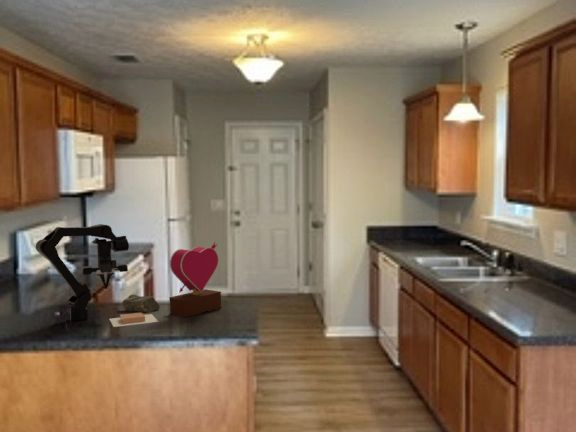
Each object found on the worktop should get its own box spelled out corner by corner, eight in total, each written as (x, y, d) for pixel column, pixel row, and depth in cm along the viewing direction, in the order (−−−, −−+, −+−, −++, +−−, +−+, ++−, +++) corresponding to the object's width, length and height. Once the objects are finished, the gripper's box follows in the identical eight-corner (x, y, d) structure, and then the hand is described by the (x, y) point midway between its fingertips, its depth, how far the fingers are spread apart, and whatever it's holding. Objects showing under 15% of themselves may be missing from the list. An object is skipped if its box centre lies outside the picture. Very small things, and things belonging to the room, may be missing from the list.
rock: (117, 303, 268) (125, 293, 277) (119, 317, 270) (128, 306, 279) (153, 303, 265) (161, 292, 274) (156, 316, 267) (163, 306, 276)
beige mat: (113, 328, 243) (113, 326, 243) (109, 319, 257) (109, 318, 257) (158, 322, 251) (158, 321, 250) (151, 315, 264) (151, 314, 264)
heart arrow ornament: (210, 304, 284) (208, 240, 282) (226, 306, 278) (224, 242, 275) (169, 314, 265) (167, 246, 263) (185, 317, 259) (182, 248, 256)
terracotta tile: (122, 318, 248) (144, 316, 252) (120, 314, 255) (141, 312, 259) (122, 323, 248) (145, 321, 252) (120, 319, 256) (141, 317, 259)
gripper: (82, 257, 252) (84, 294, 253) (128, 254, 259) (129, 290, 260) (81, 253, 262) (83, 289, 264) (125, 250, 269) (127, 285, 270)
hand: (105, 288), depth 264 cm, fingers closed
